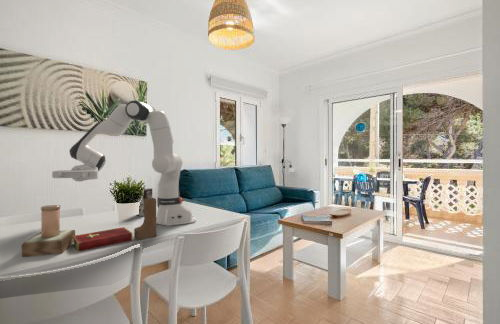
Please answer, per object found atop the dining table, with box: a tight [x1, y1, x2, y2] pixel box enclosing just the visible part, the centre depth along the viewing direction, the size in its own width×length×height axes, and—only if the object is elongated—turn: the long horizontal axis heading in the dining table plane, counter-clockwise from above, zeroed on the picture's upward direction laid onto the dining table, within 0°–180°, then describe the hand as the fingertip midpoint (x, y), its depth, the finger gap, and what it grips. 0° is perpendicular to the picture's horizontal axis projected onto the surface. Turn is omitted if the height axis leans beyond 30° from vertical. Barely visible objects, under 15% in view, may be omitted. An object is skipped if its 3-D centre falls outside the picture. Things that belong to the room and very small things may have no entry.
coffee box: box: [139, 188, 153, 217], centre depth 168 cm, size 9×6×16 cm
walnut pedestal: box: [21, 229, 76, 258], centre depth 109 cm, size 13×15×5 cm
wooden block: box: [133, 197, 157, 241], centre depth 123 cm, size 9×4×18 cm, turn 128°
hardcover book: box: [73, 226, 133, 253], centre depth 117 cm, size 12×21×4 cm, turn 132°
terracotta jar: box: [40, 204, 61, 238], centre depth 108 cm, size 6×6×12 cm
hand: (71, 175), depth 131 cm, fingers open, 8 cm apart
